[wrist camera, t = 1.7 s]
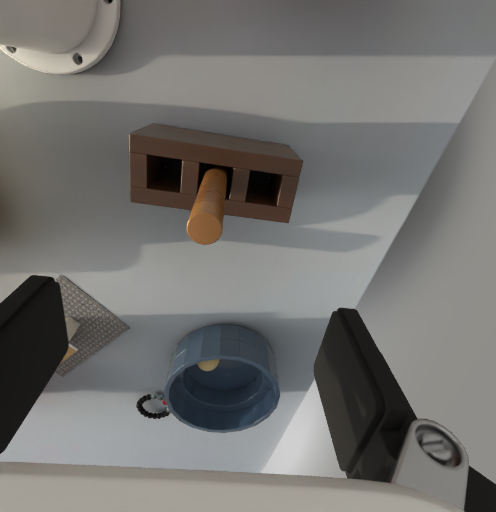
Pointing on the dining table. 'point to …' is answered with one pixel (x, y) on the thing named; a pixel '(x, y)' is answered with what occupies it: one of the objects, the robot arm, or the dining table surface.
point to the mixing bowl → (222, 380)
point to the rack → (218, 153)
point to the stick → (209, 206)
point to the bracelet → (150, 415)
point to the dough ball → (208, 365)
